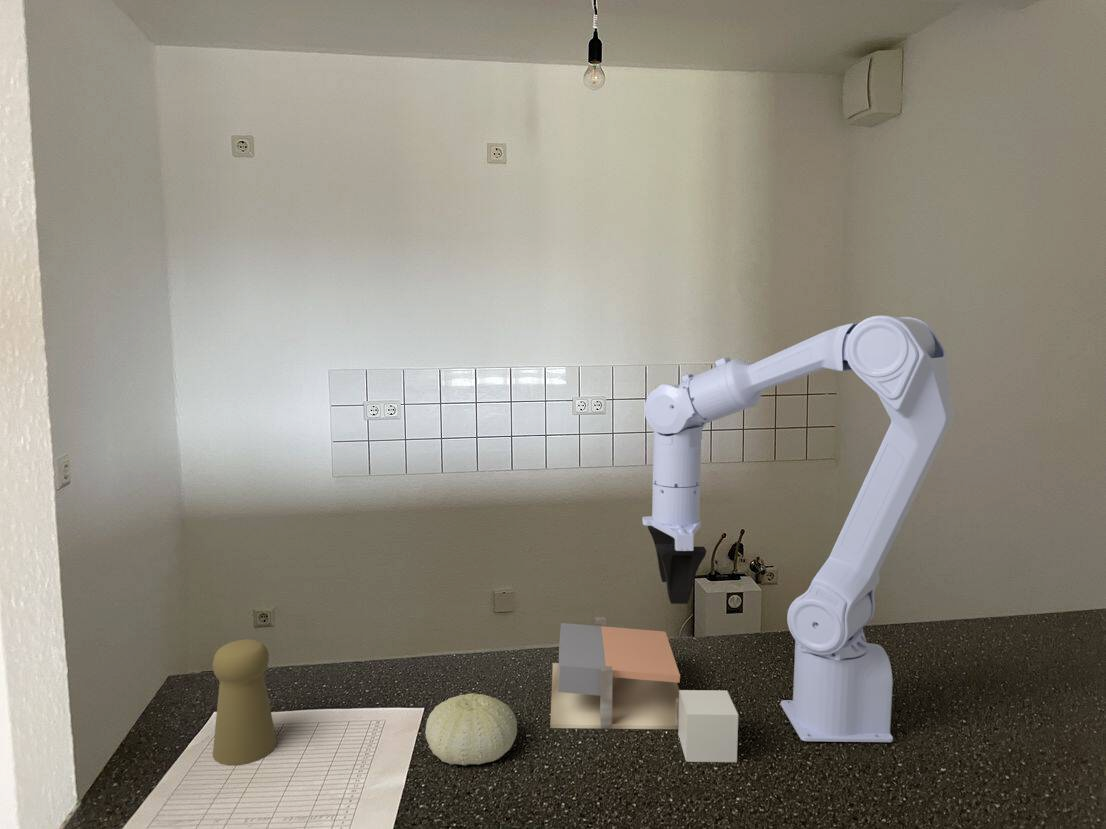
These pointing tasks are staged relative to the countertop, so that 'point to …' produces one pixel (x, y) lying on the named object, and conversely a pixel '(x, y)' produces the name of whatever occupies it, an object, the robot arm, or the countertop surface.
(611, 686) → the frame
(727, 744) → the off-white sharp-edged cube
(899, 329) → the robot arm
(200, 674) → the countertop surface
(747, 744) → the countertop surface
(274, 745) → the cork
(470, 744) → the sea urchin shell
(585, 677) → the trapdoor
